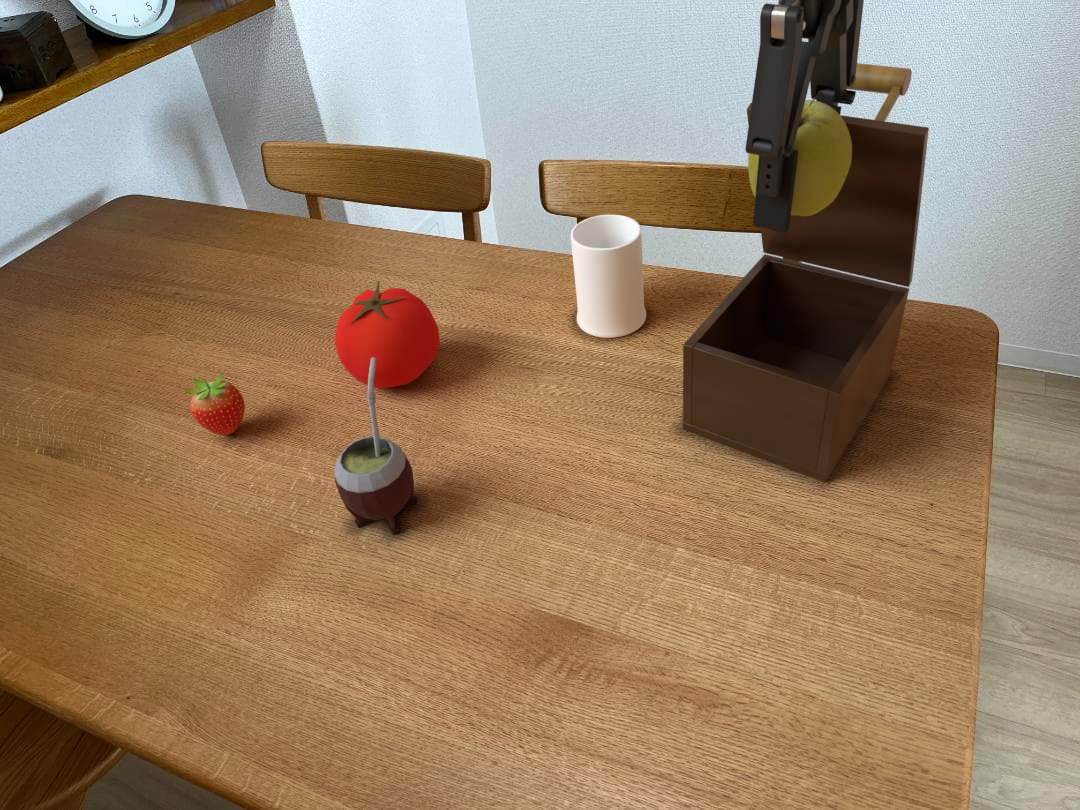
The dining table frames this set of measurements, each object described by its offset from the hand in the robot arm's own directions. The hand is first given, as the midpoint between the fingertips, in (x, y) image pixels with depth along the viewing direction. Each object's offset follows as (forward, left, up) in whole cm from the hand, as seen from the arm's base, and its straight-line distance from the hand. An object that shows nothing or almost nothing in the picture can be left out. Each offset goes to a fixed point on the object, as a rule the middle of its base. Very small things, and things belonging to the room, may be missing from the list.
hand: (792, 202), depth 66 cm
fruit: (+51, +30, -25) cm, 64 cm away
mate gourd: (+27, +29, -25) cm, 47 cm away
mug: (+25, -10, -25) cm, 36 cm away
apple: (0, 0, -1) cm, 0 cm away
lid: (0, -9, -4) cm, 10 cm away
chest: (0, -4, -25) cm, 25 cm away
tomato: (+41, +13, -25) cm, 49 cm away
